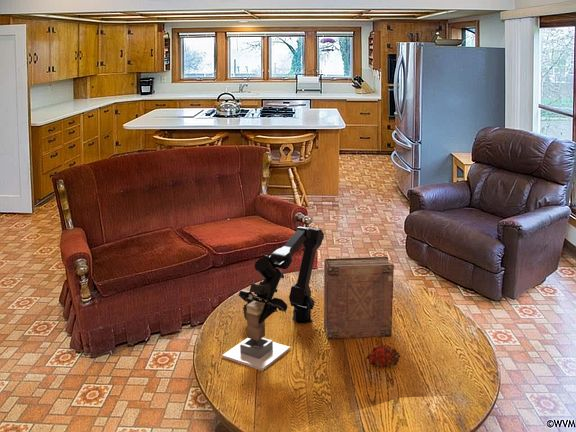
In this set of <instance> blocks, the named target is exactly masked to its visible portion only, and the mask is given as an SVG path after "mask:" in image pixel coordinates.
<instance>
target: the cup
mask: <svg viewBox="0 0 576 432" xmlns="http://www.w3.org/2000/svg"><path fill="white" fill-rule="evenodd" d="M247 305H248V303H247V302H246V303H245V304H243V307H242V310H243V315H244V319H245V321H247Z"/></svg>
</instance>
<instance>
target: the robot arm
mask: <svg viewBox="0 0 576 432" xmlns="http://www.w3.org/2000/svg"><path fill="white" fill-rule="evenodd" d="M324 238H325V233H324V232H323V230H322V229H320V228H314V227H309V226H307V227H305V226H298V227H296V230H295V232H294V233H293V234H292V235H291V236H290V238H289V239H288V240H287V241H286V242H285V244H284V245H283V246H282V247H279V248H277V249H275V251H273V252H272V253H271V254H270V255H263V257H260V258H258V260H256V261H255V263H254V269H255V270H256V271H257V272H258V274H260V275H261V277H262V278H263V279H262V281H259V283H251V284H250V288H249V290H246V289H242V290H241V289H240V291H239V293H238V295H237V296H238V297H240V298H241V299H242V300H243V301H244V302H246V304H247V303H248V304H249V303H251V302H253V301H257V302H261V303H264V310H263V312H262V315H261V317H260V319H259V324H261V323H262V322H263V321H264V320H265V321H266V319H268V318H269V317H270V316H271V315H273V314H274V313H277V312H278V311H280V312H283V313H286V312H287V309H288V304H287V303H286V302H285V300H283V298H282V299H281V298H278V297H274V295H275V293H278V289H277V288H278V285H279V283H280V281H281V279H284V278H285V275H284V272H283V270H287V269H289V267H290V266H291V264H292V262H293V256H294V254H295V253H296V252H297V251H298V250H299V248H300V247H301V246H302V245H303V253H302V256H301V257H302V258H301V262H300V268H299V272H298V277H297V282H295V284H294V285H292V286H291V287H290V292H289V295H288V299H289V303H290V306H291V307H293V310H292V318H291V319H292V320H294V321H295V323H297V324H298V325H302V324H307V323H311V322H313V321H314V320H313V319H312V318H311V315H312V312H311V311H312V310H313V309H314V306H315V300H314V298H312V291H311V288H310V281H311V276H312V271H313V267H314V262H315V257H316V252H317V250H318V249H319V248H320V247H321V245H322V244H323V243H322V242H323V240H324ZM280 269H282V270H280Z"/></svg>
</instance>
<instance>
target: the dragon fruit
mask: <svg viewBox="0 0 576 432" xmlns="http://www.w3.org/2000/svg"><path fill="white" fill-rule="evenodd" d="M400 358H401V355H400V353H399V352H398V351H397V350H396V349H395V348H394V347H391V346H390V345H388V344H387V345H378V346H377V347H376V346H375V347H373V349H372V350H371V352H370V353H369V354H368V355H367V356H366V357H365V359H366V360H369V364H370V365H371V366H374V367H377V368H378V367H381V370H385V369H387V368H388V369H389V368H392V366H397V364H398V362H399V360H400Z"/></svg>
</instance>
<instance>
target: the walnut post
mask: <svg viewBox="0 0 576 432" xmlns="http://www.w3.org/2000/svg"><path fill="white" fill-rule="evenodd" d="M264 304H265V303H261V302H258V301H253V302H251V303H249V304H248V305H247V320H246V323H247V325H246V326H247V327H246V328H247V338H250V339H254V340H257V341H258V340H260V339H261V338H265V336H266V319H265V320H264V321H263V322H262V323H261V324H259V319H260V317H261V315H262V312H263V310H264Z"/></svg>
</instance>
